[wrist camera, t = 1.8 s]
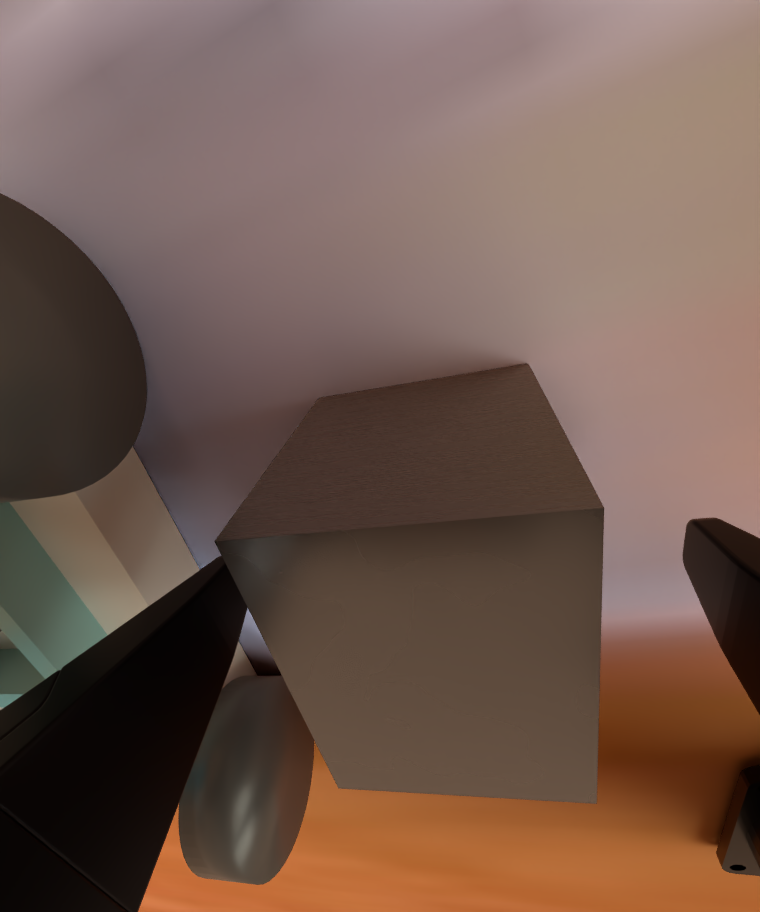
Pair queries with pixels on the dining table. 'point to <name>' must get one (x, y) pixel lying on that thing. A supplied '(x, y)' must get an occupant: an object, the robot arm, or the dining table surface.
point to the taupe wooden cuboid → (433, 588)
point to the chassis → (116, 543)
